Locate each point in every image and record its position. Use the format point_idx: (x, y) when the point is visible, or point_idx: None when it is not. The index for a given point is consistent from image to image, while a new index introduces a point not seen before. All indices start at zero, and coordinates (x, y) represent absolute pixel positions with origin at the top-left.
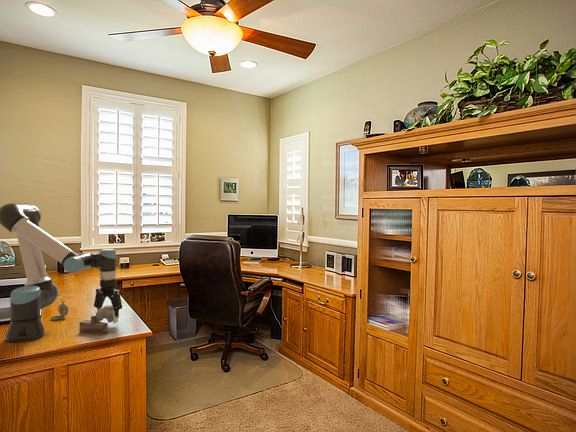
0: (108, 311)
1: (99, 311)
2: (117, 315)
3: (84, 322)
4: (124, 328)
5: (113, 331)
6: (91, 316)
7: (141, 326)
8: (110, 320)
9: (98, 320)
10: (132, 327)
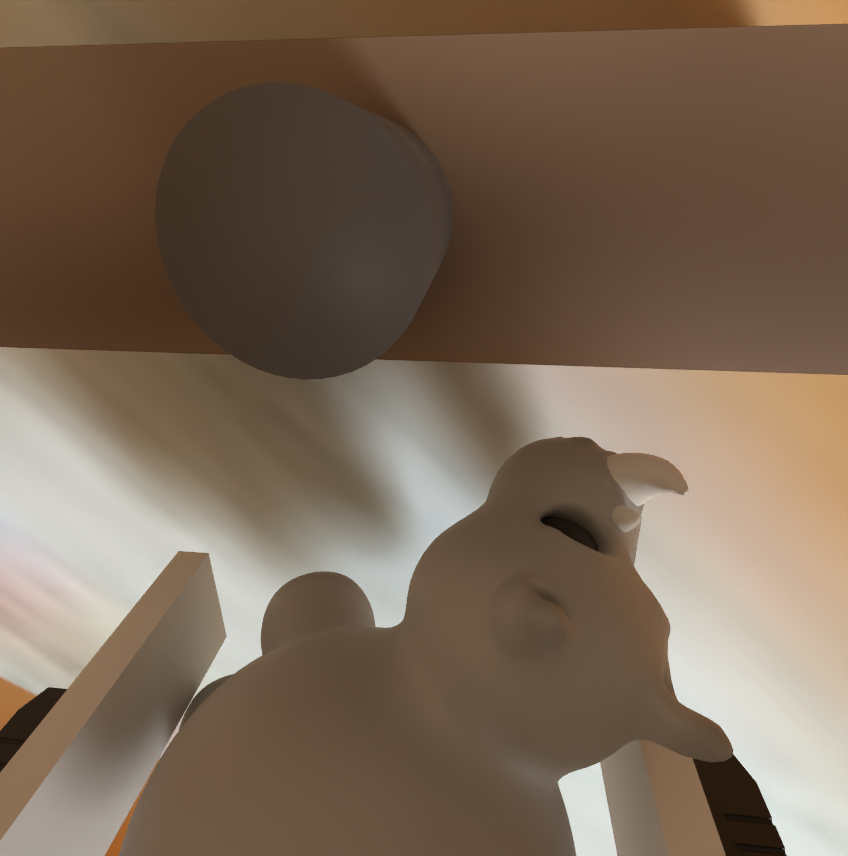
0: (157, 825)
1: (658, 844)
2: (25, 732)
3: (718, 70)
4: (125, 558)
5: (130, 393)
6: (411, 204)
7: (20, 671)
8: (272, 608)
9: (486, 503)
10: (74, 617)
